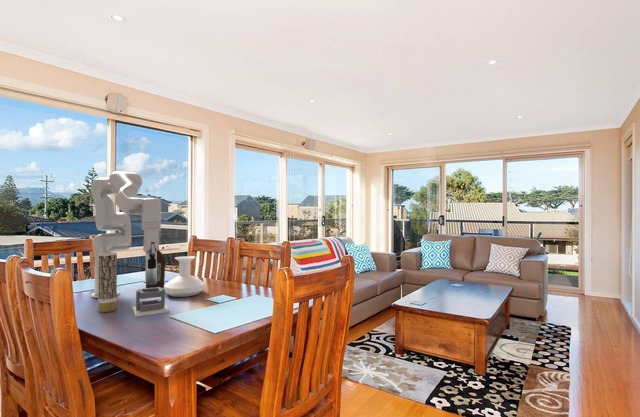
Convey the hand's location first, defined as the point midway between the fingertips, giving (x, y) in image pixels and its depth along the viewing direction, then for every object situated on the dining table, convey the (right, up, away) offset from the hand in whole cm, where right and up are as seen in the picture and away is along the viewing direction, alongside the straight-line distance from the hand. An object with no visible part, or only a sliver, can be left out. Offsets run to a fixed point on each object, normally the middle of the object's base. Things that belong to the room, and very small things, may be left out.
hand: (151, 267), depth 156 cm
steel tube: (0, -7, 0) cm, 7 cm away
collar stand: (0, -19, 0) cm, 19 cm away
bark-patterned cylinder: (-19, -19, -1) cm, 27 cm away
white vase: (+3, -19, +30) cm, 36 cm away
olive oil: (-19, -19, +44) cm, 52 cm away
